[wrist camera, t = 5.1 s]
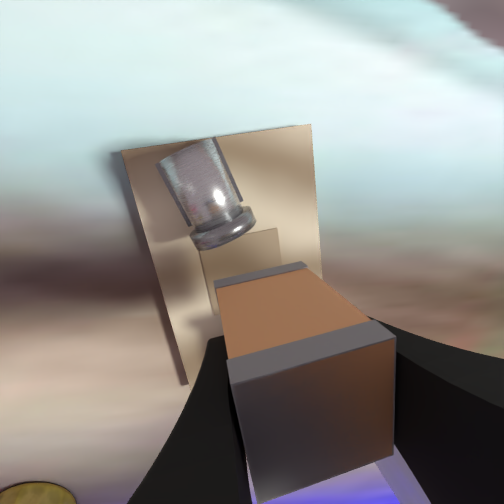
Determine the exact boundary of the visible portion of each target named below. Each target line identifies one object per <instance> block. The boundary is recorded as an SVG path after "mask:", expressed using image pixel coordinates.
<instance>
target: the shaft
mask: <svg viewBox="0 0 504 504" xmlns="http://www.w3.org/2000/svg"><path fill="white" fill-rule="evenodd" d="M155 166H156V168H157V170H158V171H159V173H160V175H161V177H162V179H163V181H164V183H165V184H166V186H167V188H168V190H169V192H170V194H171V195H172V197H173V199H174V201H175V203H176V205H177V207H178V208H179V210H180V212H181V214H182V216H183V218H184V219H185V221H186V223H187V225H188V227H190V226H193V227H194V230H193V231H192V232H191V233H190V235H189V236H190V238H191V240H192V242H193V244H194V245H195V247H196V249H197V250H198V251H206V250H210V249H214V248H217V247H220V246H222V245H224V244H227V243H229V242H231V241H233V240H235V239H237V238H239V237H240V236H242V235H243V234H245V233H246V232H248V231H249V230H250V229H251V228H253V227H254V225H255V224H256V219H255V216H254V214H253V212H252V209H251V207H250V206H243V207H242V205H241V203H240V202H242V201H244V200H243V198H242V196H241V194H240V191H239V189H238V187H237V185H236V182H235V180H234V178H233V176H232V173H231V171H230V169H229V167H228V164H227V162H226V160H225V158H224V155H223V153H222V151H221V148H220V146H219V144H218V142H217V139H216V137H213V138H211V139H207V140H203V141H201V142H198V143H195V144H193V145H191V146H188V147H186V148H184V149H182V150H180V151H177V152H175V153H173V154H172V155H170V156H168V157H166V158H164V159H163V160H161V161H160V162H159V163H156V164H155Z"/></svg>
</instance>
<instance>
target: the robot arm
mask: <svg viewBox="0 0 504 504" xmlns="http://www.w3.org/2000/svg"><path fill="white" fill-rule="evenodd" d="M367 317H368V316H367ZM368 318H370V319H371V320H374V319H373V318H371V317H368ZM375 320H376V319H375ZM376 321H377V322H379V323H380V324H381V325H382V326H384V327H385V328H386V329H387V330H389V331H390V332H391V333H392V334H394V335H395V336H396V374H395V419H394V455H393V456H390V457H387V458H384V459H382V460H379V461H376V462H375V464H376V465H377V467H378V468H379V470H380V472H381V473H382V475H383V476H384V478H385V480H386V481H387V483H388V484H389V486H390V488H391V489H392V491H393V492H394V494H395V496H396V497H397V499H398V500H399V502H400V504H504V359H501V358H497V357H492V356H488V355H483V354H479V353H475V352H471V351H467V350H463V349H460V348H456V347H453V346H449V345H446V344H442V343H439V342H436V341H432V340H429V339H426V338H423V337H420V336H418V335H415V334H412V333H409V332H406V331H404V330H401V329H398V328H396V327H393V326H391V325H388V324H386V323H383V322H381V321H378V320H376ZM226 360H228V354H227V349H226V343H225V337H224V335H222V336H218V337H214V338H210V339H209V340H208V342H207V347H206V351H205V355H204V358H203V361H202V364H201V367H200V370H199V373H198V376H197V378H196V381H195V384H194V386H193V388H192V391H191V393H190V395H189V398H188V400H187V402H186V404H185V407H184V409H183V411H182V413H181V415H180V417H179V419H178V421H177V423H176V425H175V427H174V429H173V430H172V432H171V434H170V436H169V438H168V440H167V441H166V443H165V445H164V446H163V448H162V450H161V452H160V453H159V455H158V457H157V458H156V460H155V462H154V463H153V465H152V467H151V468H150V470H149V471H148V473H147V475H146V476H145V478H144V479H143V481H142V482H141V484H140V485H139V487H138V488H137V489H136V491H135V492H134V494H133V495H132V497H131V498H130V500H129V501H128V503H127V504H252V500H251V494H250V488H249V481H248V473H247V464H246V454H245V447H244V442H243V438H242V434H241V429H240V425H239V420H238V416H237V412H236V407H235V403H234V398H233V394H232V390H231V385H230V379H229V373H228V367H227V361H226Z"/></svg>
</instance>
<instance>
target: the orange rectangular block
mask: <svg viewBox="0 0 504 504" xmlns="http://www.w3.org/2000/svg"><path fill="white" fill-rule="evenodd" d="M213 282H214V288H215V293H216V297H217V302H218V306H219V311H220V316H221V320H222V326H223V332H224V337H225V343H226V349H227V354H228V360H226V361H227V367H228V373H229V379H230V385H231V390H232V394H233V398H234V403H235V407H236V412H237V416H238V420H239V425H240V429H241V434H242V438H243V442H244V447H245V451H246V456H247V460H248V464H249V469H250V473H251V478H252V482H253V486H254V491H255V495H256V500H257V504H261V503H264V502H267V501H269V500H272V499H275V498H278V497H280V496H283V495H286V494H288V493H291V492H294V491H297V490H299V489H302V488H305V487H308V486H310V485H313V484H316V483H319V482H321V481H324V480H327V479H330V478H332V477H335V476H338V475H341V474H343V473H346V472H349V471H351V470H354V469H357V468H360V467H362V466H365V465H368V464H371V463H373V462H376V461H379V460H382V459H384V458H387V457H390V456H393V455H394V419H395V374H396V336H395V335H394V334H392V333H391V332H390V331H389V330H387V329H386V328H385V327H384V326H382V325H381V324H380V323H379V322H377V321H376V320H375V319H374V320H371V319H370V318H368V317H367V316H366V315H365V314H363V313H362V312H361V311H360V310H358V309H357V308H356V307H355V306H354V305H352V304H351V303H350V302H349V301H347V300H346V299H345V298H344V297H343V296H341V295H340V294H339V293H338V292H336V291H335V290H334V289H333V288H331V287H330V286H329V285H328V284H327V283H325V282H324V281H323V280H322V279H320V278H319V277H318V276H317V275H316V274H314V273H313V272H312V271H311V270H309V268H308V266H307V265H306V264H305V263H303V262H302V261H299V262H294V263H290V264H285V265H281V266H276V267H272V268H268V269H263V270H259V271H254V272H250V273H245V274H241V275H236V276H232V277H227V278H223V279H218V280H214V281H213Z"/></svg>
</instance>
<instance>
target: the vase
mask: <svg viewBox="0 0 504 504" xmlns="http://www.w3.org/2000/svg"><path fill="white" fill-rule="evenodd" d="M0 504H76V501H75V499H74V497H73V495H72V494H71V493H70V492H69V491H68V490H66V489H65V488H63V487H61V486H58V485H55V484H51V483H41V482H39V483H25V484H21V485H17V486H14V487H11V488H9V489H7V490H5V491H3V492H1V493H0Z"/></svg>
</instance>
